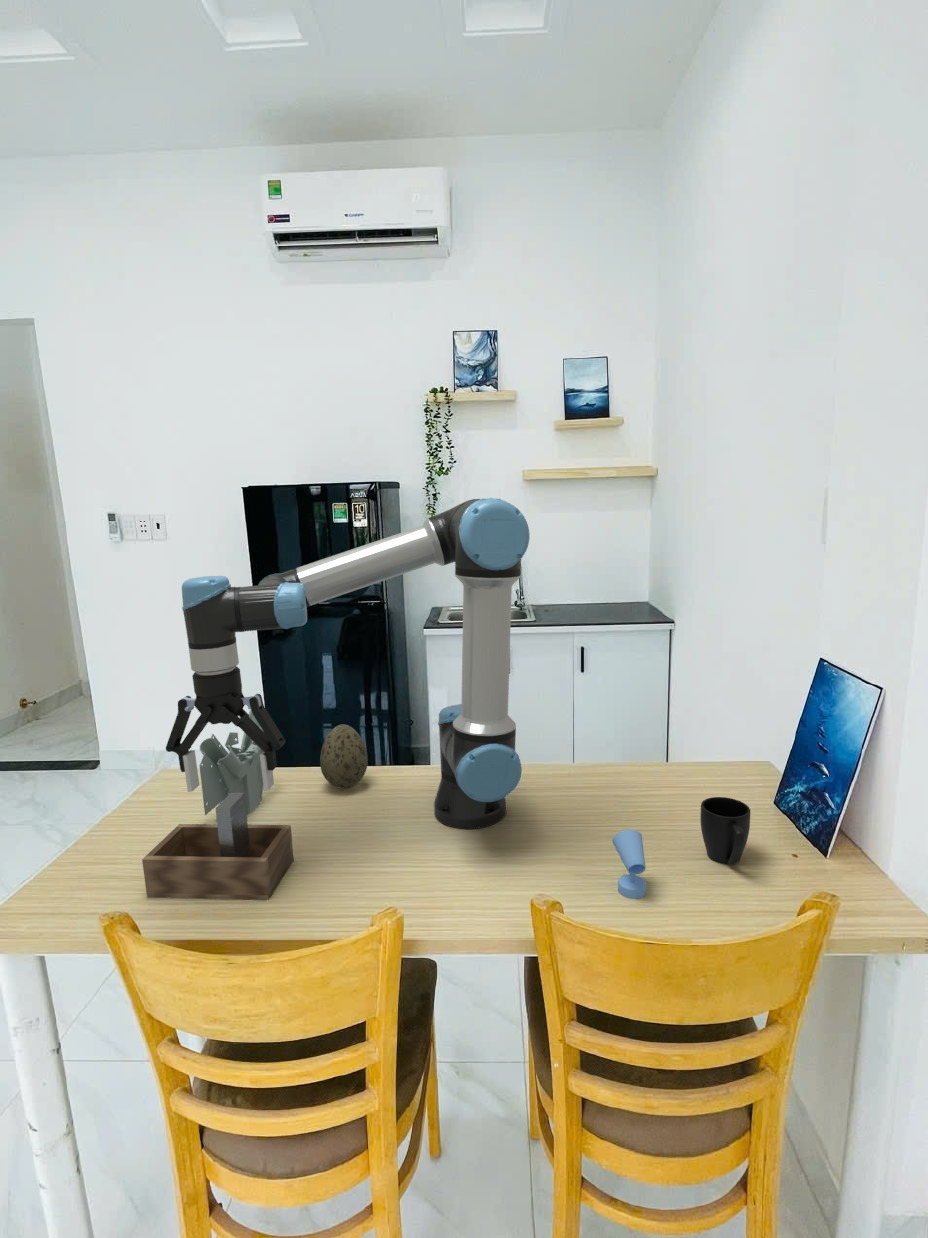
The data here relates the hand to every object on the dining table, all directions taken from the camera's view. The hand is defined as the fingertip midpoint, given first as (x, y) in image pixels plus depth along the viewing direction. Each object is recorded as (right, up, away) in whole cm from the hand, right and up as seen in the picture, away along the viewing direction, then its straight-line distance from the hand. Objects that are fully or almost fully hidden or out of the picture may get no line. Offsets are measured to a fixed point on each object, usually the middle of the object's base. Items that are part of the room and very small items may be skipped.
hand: (231, 788), depth 115 cm
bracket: (-8, -12, +30) cm, 34 cm away
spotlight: (+68, -16, -4) cm, 70 cm away
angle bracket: (-3, -16, +3) cm, 17 cm away
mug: (+87, -14, +3) cm, 88 cm away
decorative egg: (+13, -10, +39) cm, 43 cm away
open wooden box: (-2, -17, +3) cm, 17 cm away
